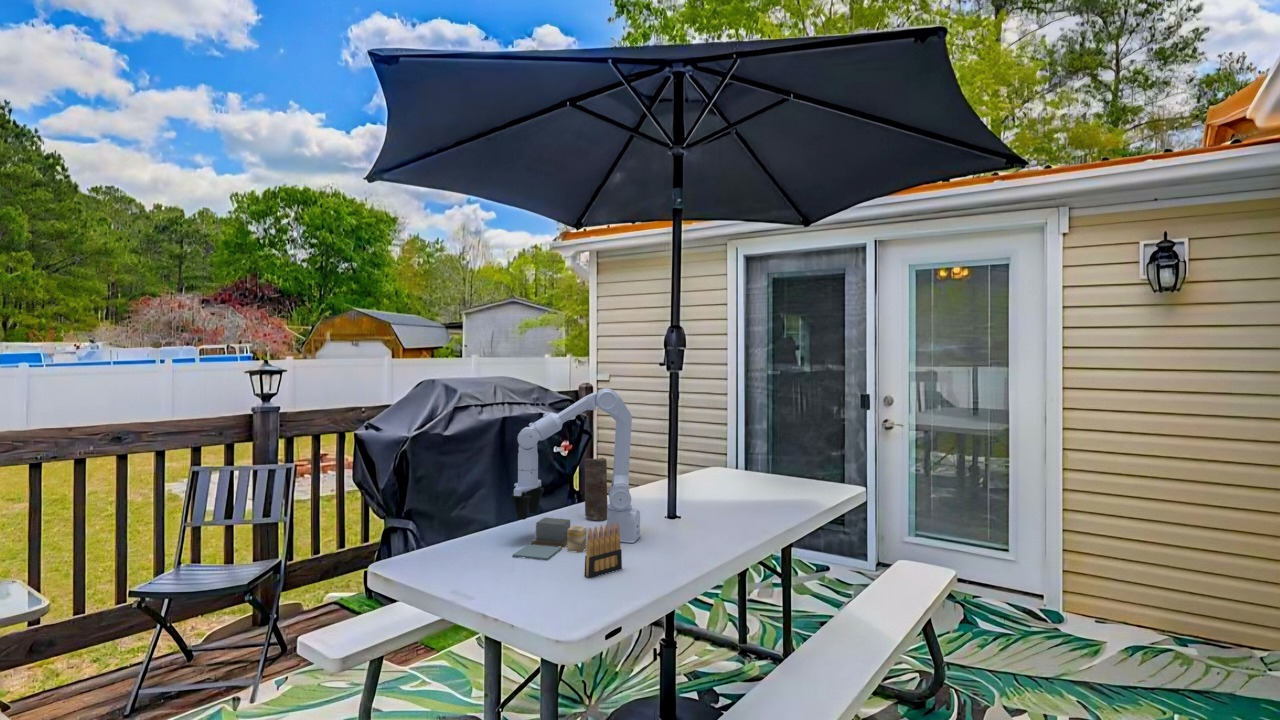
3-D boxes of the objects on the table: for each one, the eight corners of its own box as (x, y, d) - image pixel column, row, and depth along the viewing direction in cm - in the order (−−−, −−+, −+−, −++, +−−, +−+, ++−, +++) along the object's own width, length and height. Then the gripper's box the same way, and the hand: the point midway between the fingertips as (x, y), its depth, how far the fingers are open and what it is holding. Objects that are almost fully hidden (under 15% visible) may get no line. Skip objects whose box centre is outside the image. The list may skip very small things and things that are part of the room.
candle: (580, 520, 218) (581, 458, 218) (589, 515, 225) (589, 455, 225) (603, 522, 216) (603, 459, 215) (610, 516, 223) (611, 456, 222)
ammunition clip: (588, 578, 163) (589, 529, 163) (584, 576, 164) (584, 527, 164) (622, 569, 170) (622, 521, 170) (617, 567, 171) (617, 520, 171)
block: (586, 548, 187) (586, 526, 187) (581, 552, 183) (581, 530, 183) (572, 547, 188) (572, 525, 188) (567, 551, 184) (567, 529, 184)
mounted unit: (574, 539, 196) (574, 519, 196) (564, 547, 188) (564, 526, 188) (542, 536, 198) (542, 516, 198) (531, 544, 191) (531, 523, 190)
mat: (561, 549, 186) (561, 547, 186) (547, 560, 176) (547, 558, 176) (528, 546, 189) (528, 544, 189) (512, 556, 179) (512, 554, 179)
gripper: (525, 464, 203) (525, 509, 203) (504, 472, 189) (503, 520, 189) (547, 465, 201) (547, 510, 201) (527, 474, 187) (526, 522, 187)
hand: (527, 515), depth 195 cm, fingers open, 7 cm apart
